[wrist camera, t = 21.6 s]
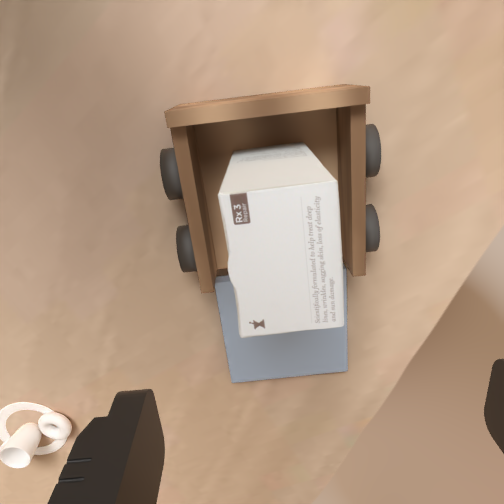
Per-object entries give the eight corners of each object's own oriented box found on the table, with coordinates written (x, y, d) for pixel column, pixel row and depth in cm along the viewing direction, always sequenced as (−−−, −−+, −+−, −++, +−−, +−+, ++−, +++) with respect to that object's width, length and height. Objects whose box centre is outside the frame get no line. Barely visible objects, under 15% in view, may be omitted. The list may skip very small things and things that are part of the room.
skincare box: (309, 233, 35) (352, 335, 21) (240, 242, 35) (239, 348, 22) (302, 134, 32) (348, 179, 18) (226, 144, 32) (214, 196, 18)
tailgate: (214, 276, 38) (232, 374, 43) (214, 283, 37) (231, 383, 42) (343, 262, 37) (345, 363, 43) (346, 268, 36) (347, 371, 41)
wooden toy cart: (189, 265, 38) (178, 304, 31) (158, 107, 32) (137, 114, 26) (365, 245, 37) (391, 281, 31) (366, 81, 32) (397, 83, 25)
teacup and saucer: (75, 402, 45) (60, 432, 41) (77, 454, 48) (63, 486, 44) (-8, 395, 44) (-31, 425, 40) (1, 448, 47) (-20, 480, 43)
